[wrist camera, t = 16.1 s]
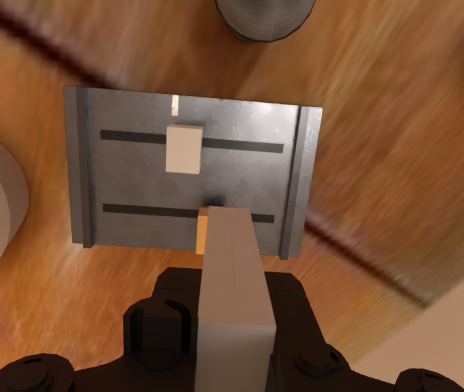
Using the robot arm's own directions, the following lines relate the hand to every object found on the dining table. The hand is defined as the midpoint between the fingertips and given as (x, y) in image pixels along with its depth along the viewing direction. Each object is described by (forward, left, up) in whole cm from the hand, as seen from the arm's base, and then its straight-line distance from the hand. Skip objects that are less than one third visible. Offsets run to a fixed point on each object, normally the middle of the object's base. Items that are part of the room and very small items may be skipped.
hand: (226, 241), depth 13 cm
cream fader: (0, -4, -24) cm, 24 cm away
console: (+4, -3, -26) cm, 27 cm away
